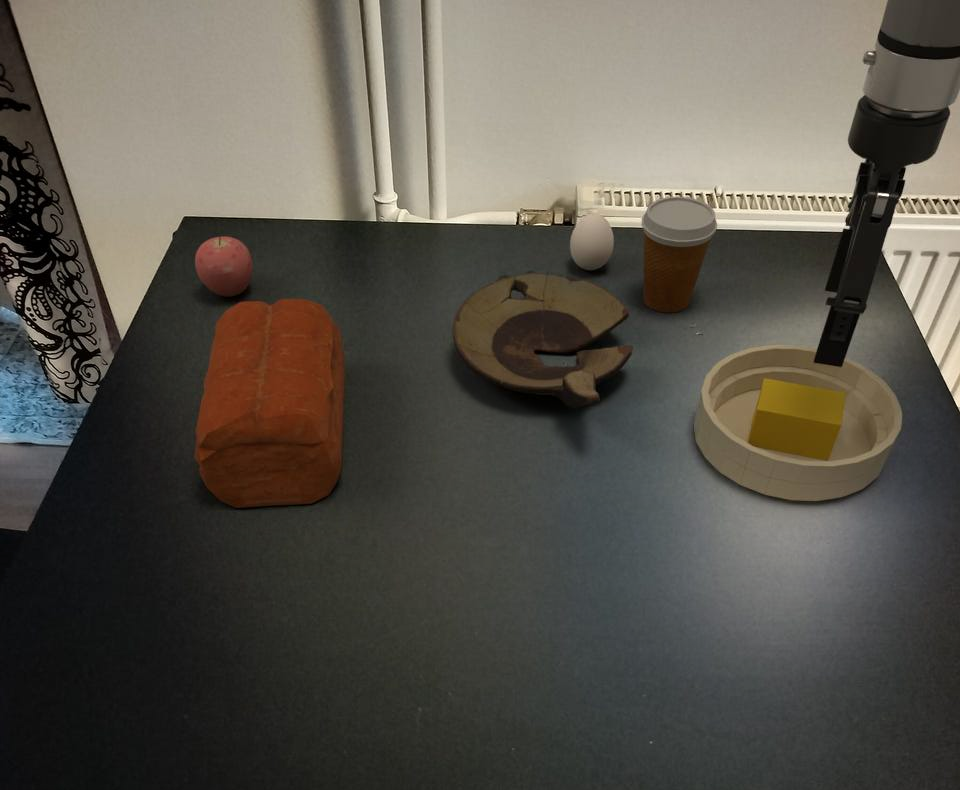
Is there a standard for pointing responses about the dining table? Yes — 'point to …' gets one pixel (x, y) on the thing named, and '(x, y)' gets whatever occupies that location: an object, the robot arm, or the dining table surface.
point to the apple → (224, 265)
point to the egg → (592, 242)
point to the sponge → (797, 419)
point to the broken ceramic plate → (541, 335)
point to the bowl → (785, 475)
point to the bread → (272, 405)
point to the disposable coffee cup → (674, 250)
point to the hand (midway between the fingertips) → (833, 325)
